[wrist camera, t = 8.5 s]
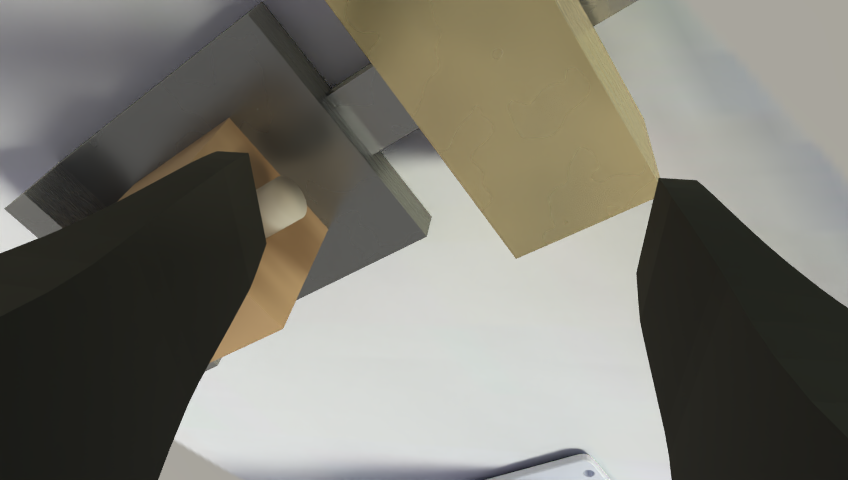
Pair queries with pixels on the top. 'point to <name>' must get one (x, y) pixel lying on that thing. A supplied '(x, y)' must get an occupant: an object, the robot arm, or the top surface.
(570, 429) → the top surface
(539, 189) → the block
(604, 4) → the press bed
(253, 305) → the housing block
